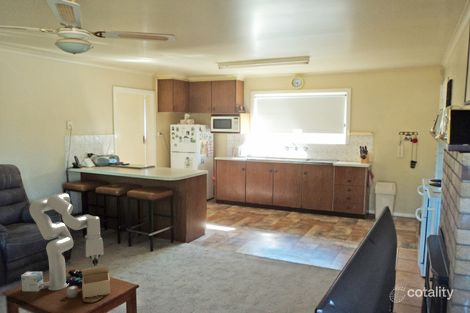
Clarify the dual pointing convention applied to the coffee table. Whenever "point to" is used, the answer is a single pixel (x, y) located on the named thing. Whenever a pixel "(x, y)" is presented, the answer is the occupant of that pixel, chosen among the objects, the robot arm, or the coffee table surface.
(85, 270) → the carton flap
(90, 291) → the carton
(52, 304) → the coffee table surface
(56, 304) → the coffee table surface
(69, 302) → the coffee table surface
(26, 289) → the light bulb box
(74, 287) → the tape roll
